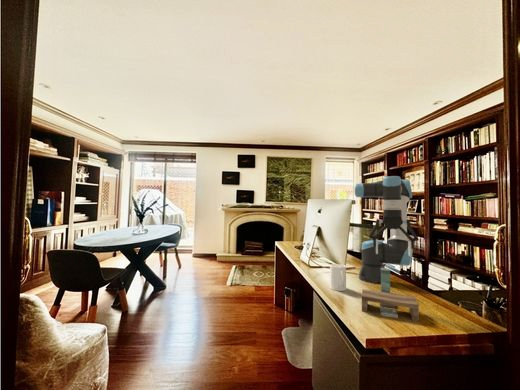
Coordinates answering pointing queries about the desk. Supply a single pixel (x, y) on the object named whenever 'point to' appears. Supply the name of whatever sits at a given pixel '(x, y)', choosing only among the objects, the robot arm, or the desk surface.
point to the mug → (338, 277)
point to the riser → (391, 301)
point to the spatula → (385, 284)
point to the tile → (388, 312)
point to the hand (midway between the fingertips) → (393, 254)
